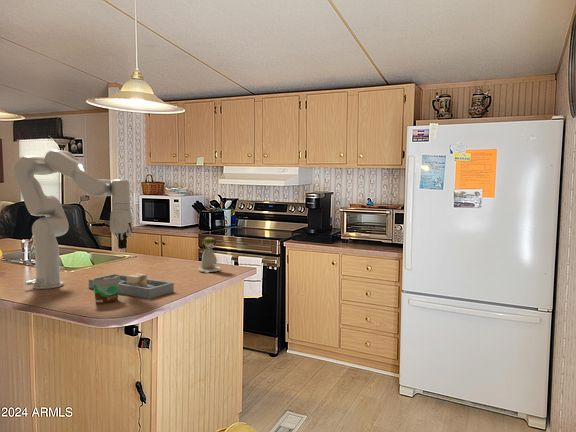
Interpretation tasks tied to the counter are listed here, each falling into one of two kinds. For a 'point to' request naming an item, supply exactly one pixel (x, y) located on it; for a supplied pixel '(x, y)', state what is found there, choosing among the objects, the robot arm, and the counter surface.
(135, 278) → the maple block
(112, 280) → the food container
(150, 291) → the tray
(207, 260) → the grey figurine
